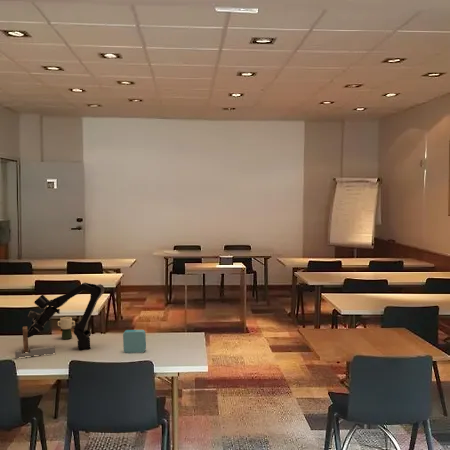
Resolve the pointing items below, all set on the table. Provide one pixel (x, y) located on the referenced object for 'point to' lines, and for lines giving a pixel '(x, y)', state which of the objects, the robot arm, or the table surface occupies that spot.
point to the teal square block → (134, 341)
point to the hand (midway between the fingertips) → (27, 335)
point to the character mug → (66, 327)
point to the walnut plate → (25, 339)
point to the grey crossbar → (36, 352)
